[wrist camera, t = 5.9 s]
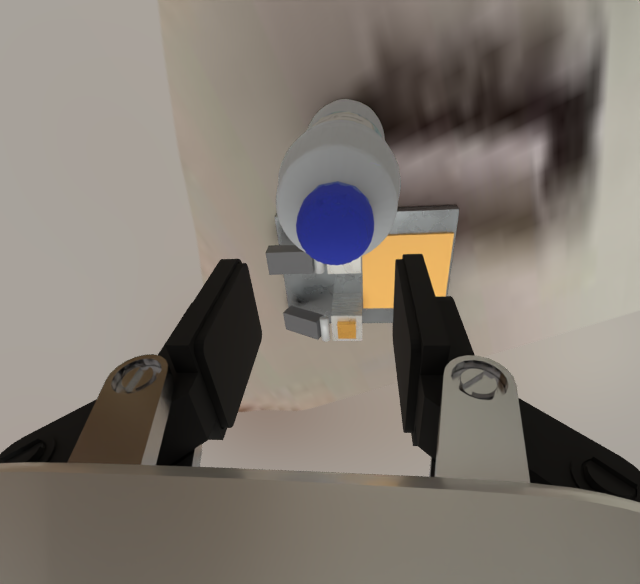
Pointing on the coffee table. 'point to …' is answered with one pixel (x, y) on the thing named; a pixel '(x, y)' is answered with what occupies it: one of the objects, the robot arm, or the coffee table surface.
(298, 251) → the lever
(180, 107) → the coffee table surface
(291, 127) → the coffee table surface
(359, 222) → the bottle
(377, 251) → the pad
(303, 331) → the lever
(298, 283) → the panel
